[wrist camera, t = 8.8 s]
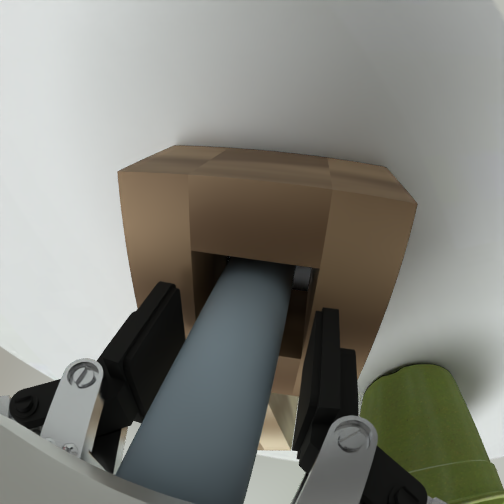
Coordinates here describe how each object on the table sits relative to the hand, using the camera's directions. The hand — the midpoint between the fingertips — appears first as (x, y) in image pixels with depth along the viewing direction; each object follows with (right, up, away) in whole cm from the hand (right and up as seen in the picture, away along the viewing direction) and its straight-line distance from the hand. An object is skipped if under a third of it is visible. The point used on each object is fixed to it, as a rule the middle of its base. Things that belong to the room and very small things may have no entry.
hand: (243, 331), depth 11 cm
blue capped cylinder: (+1, +3, +5) cm, 6 cm away
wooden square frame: (+1, +3, +5) cm, 6 cm away
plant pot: (+12, -8, +9) cm, 17 cm away
